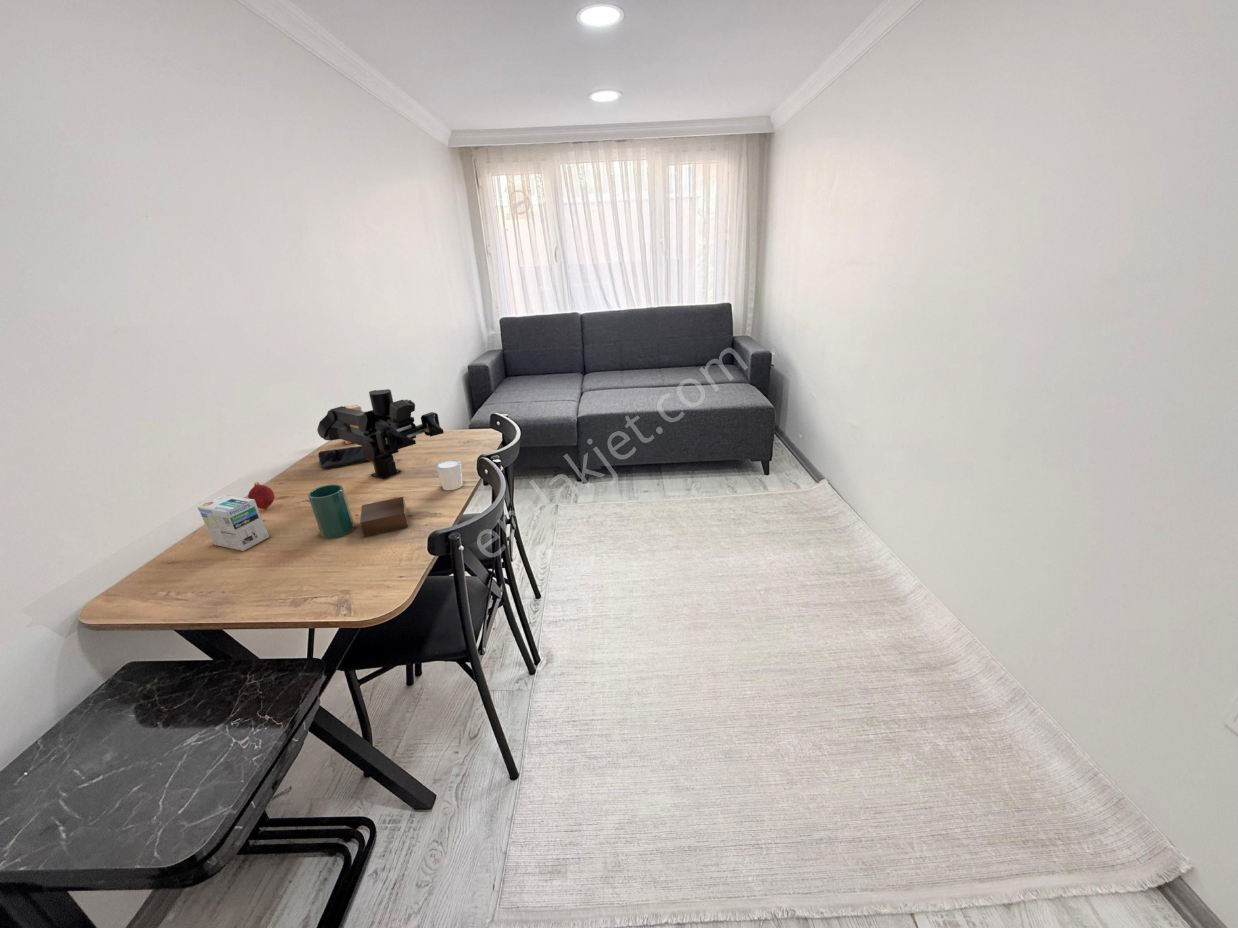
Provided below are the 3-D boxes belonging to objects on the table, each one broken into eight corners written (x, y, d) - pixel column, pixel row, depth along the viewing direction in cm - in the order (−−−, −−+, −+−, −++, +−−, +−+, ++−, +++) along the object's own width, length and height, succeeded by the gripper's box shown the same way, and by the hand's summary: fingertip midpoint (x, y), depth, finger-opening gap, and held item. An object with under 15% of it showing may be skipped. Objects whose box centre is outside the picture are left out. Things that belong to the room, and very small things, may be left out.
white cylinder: (468, 480, 147) (464, 459, 144) (459, 491, 140) (455, 469, 138) (446, 480, 147) (441, 459, 145) (436, 491, 141) (431, 468, 138)
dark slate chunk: (390, 459, 165) (387, 446, 163) (317, 471, 158) (313, 457, 156) (393, 444, 178) (390, 432, 176) (326, 454, 172) (322, 442, 170)
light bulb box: (270, 537, 121) (255, 498, 117) (243, 552, 115) (227, 511, 111) (240, 531, 124) (224, 493, 120) (212, 545, 119) (195, 506, 114)
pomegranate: (282, 505, 137) (273, 479, 133) (261, 515, 132) (251, 488, 129) (269, 502, 139) (260, 476, 136) (248, 511, 134) (238, 485, 131)
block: (365, 518, 128) (361, 505, 126) (406, 509, 131) (403, 496, 130) (364, 537, 119) (359, 522, 118) (408, 527, 123) (404, 513, 121)
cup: (314, 534, 122) (301, 494, 117) (342, 520, 127) (331, 482, 123) (332, 541, 118) (319, 500, 114) (360, 526, 124) (349, 487, 120)
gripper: (356, 409, 132) (393, 418, 124) (415, 392, 146) (451, 399, 138) (366, 447, 136) (402, 459, 129) (422, 427, 151) (457, 436, 143)
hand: (429, 436), depth 135 cm, fingers open, 9 cm apart
